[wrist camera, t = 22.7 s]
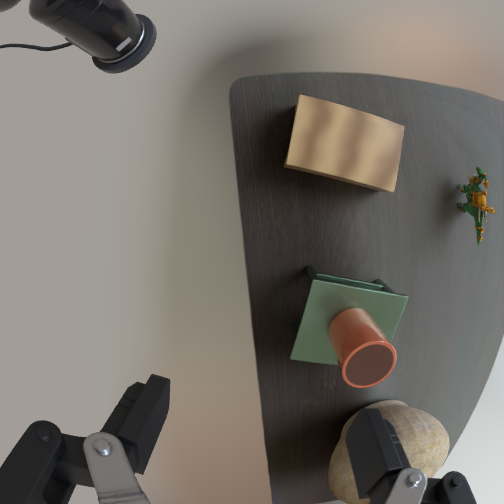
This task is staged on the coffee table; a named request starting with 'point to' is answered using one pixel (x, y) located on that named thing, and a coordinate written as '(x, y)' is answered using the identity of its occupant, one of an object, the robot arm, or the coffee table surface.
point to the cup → (361, 348)
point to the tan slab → (344, 144)
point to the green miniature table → (334, 302)
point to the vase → (411, 437)
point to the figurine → (476, 201)
